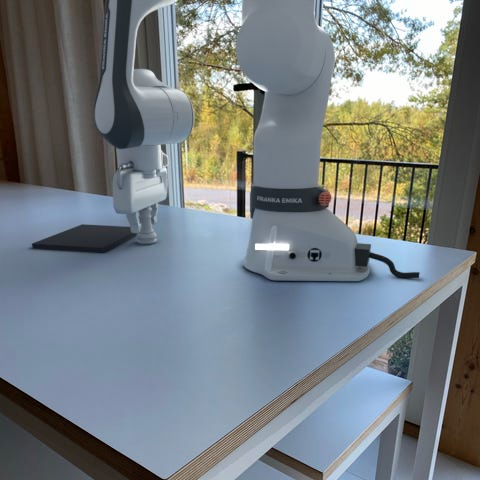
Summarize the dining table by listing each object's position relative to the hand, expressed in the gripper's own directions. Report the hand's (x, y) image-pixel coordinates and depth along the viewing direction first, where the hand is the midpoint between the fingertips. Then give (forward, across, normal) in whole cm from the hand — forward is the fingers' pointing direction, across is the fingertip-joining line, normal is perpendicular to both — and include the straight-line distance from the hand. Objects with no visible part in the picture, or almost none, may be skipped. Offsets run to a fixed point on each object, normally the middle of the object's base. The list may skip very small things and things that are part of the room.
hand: (144, 228), depth 101 cm
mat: (+3, 0, +13) cm, 13 cm away
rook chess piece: (+3, 0, 0) cm, 3 cm away
